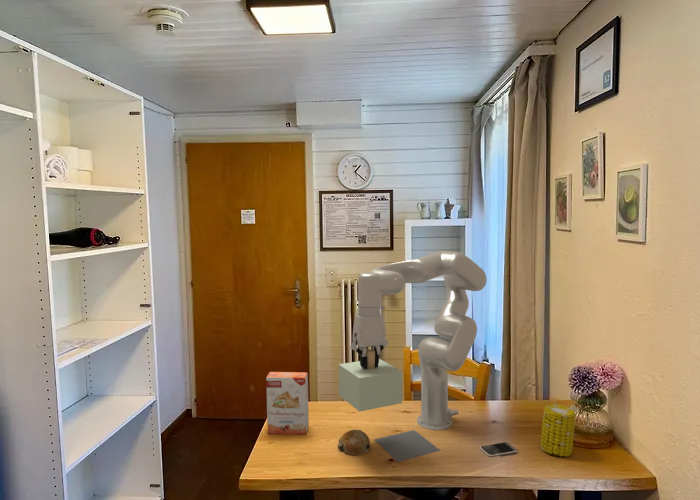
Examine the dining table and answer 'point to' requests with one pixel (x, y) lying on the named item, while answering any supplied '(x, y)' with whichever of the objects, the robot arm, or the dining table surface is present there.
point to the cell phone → (499, 449)
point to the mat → (406, 445)
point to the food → (558, 430)
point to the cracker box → (287, 402)
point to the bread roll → (354, 442)
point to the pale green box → (370, 384)
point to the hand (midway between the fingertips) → (369, 366)
